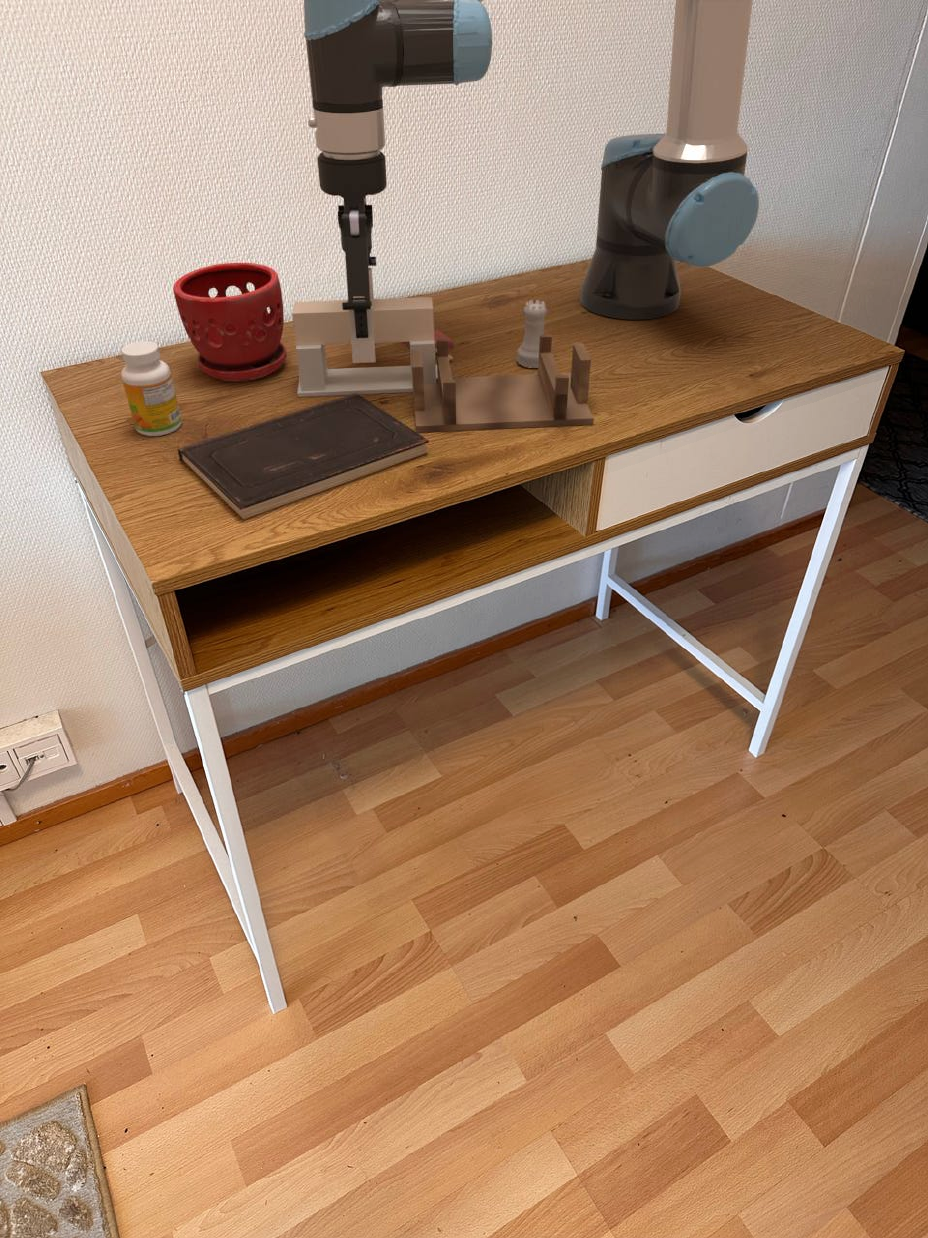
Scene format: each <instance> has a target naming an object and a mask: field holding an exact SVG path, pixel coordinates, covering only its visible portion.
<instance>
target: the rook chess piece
mask: <svg viewBox="0 0 928 1238" xmlns="http://www.w3.org/2000/svg"><path fill="white" fill-rule="evenodd" d="M522 312H523V314H524V315H525V320H524V322H523V323H524V325H525V326H524V327H525V329H524V335H523V340H522V343H521V344H520V347H519V348H518V349H517V352H516V353H517V357H516V361H517V363H518V365H520V364H521V365H523V366H526V367H531V368H538V362H539V342H540V335H545V325H546V324H547V323H546V321H545V316H546V315H547V314H548V312H549V311H548V309H547V307H546V302H545V301H541V300H539V299H536V300H535V303H534V300H533V299H532V300H528V301H526V302H525V306H524V308H523V309H522ZM521 365H520V366H521Z"/></svg>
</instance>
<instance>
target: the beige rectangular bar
mask: <svg viewBox="0 0 928 1238" xmlns="http://www.w3.org/2000/svg"><path fill="white" fill-rule="evenodd" d="M370 300H371V301H372V312H373V328H374V343H375V344H378V343H379V344H380V343H381V344H382V343H384V344H385V343H401V342H402V343H403V342H409V341H434V328H435V322H434V321H435V319H434V317H435V315H434V313H435V312H434V303H433V298H432V296H421V297H420V296H419V297H417V296H416V297H394V298H392V297H391V298H374V299H370ZM342 302H348V299H339V300H311V301H309V300H307V301H294V302H293V308H292V313H291V314H292V316H291V317H292V321H293V322H292V323H293V331H294V337H295V346H307V345H324V346H327V345H328V346H331V345H351V334H350V322H349V310H343V307H342Z"/></svg>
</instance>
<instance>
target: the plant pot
mask: <svg viewBox="0 0 928 1238" xmlns="http://www.w3.org/2000/svg"><path fill="white" fill-rule="evenodd" d="M249 283H250V284H252V285H253V287H254V290H252V291H250V290H249V289H248V286H247V285H248V284H249ZM230 287H235V288H237V289H238V290H239V291H240V293H241V294H240V293H239V294H237V295H231V296H230V295H229V296H227V290H228V289H229V288H230ZM211 289H215V290H216V292H217V294H216V295H215V296H214V297H211V296H210V290H211ZM172 290H173V295H174V300H175V304H176V307H177V309H178V310H177V311H178V314H179V318H180V320H181V323H182V325H183V327H184V330H185V332H186V334H187V336H188V338H189V340H190V342H191V344H192V346H193V347H194V349H195V350H196V351H197V353H199V354H198V357H197V364H198V366H199V368H200V369H201V370H202V372H204V373H205V374H207V375H208V376H210V377H212V378H214V379H216V380H221V381H226V382H246V381H250V380H260V379H261V378H264V377H265V376H269V375H270V374H272V373H274V372H276V371H277V370H278V369H279V368H280V367H281V366H282V365H283V364H284V362H285V360H286V357H287V348H286V346H285V344H283V343H282V342H281V341H282V337H283V331H284V325H285V323H284V321H285V319H284V318H285V316H284V301H283V294H282V293H283V292H282V287H281V281H280V278H279V274H278V273H277V272H276V270H274V269H273V268H271V266H266V265H264V264H258V263H254V262H225V263H219V264H213V265H208V266H204V267H200V268H197V269H195V270H193V271H190V272H188V273H186V274H184V275H182V276H181V277H179V278H178V279H177V280H176V281H175V282H174V284H173V288H172ZM268 308H269V311H268Z"/></svg>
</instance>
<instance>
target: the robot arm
mask: <svg viewBox="0 0 928 1238" xmlns="http://www.w3.org/2000/svg"><path fill="white" fill-rule="evenodd" d="M482 2H484V0H303V12H304V13H303V16H304V33H303V36H304V39H305V44H306V51H307V52H306V53H307V54H306V55H307V63H308V70H309V71H308V72H309V73H308V74H309V80H310V82H309V83H310V92H311V100H312V103H311V104H312V109H313V111H312V113H313V115H314V117H309V118H308V121H307V123H308V124H307V125H308V126H309V128H310V129H311V128H313V129H316V128H317V129H316V130H315V132H314V133H315V143H316V148H317V149H318V150H319V151H321V152H320V153H319V154H318V156H317V158H316V161H317V170H318V171H317V172H318V181H319V182H318V183H319V187H320V189H321V191H322V192H323V193H324V194H327V195H330V196H333V197H336V196H338V197H341V198H343V205H341V204H340V205H337V208H338V210H337V222H338V228H339V229H340V244H341V248H342V251H343V252H344V254H345V255H344V257H345V269H346V270H345V271H346V272H345V273H346V286H347V300H348V302H342V307H343V310H349V322H350V334H351V344H350V345H351V355H352V357H351V358H352V364H359V363H360V364H361V363H362V364H363V363H376V361H377V359H376V345H375V344H376V343H374V328H373V312H372V301H371V300H370V299H375V298H374V283H373V282H374V281H373V268H372V267H377V257H376V256H371V254H372V249H373V243H372V242H373V240H372V239H373V238H372V234H373V231H372V229H373V227H374V216H373V215H374V213H373V205H372V204H367V197H368V196H374V195H377V194H380V193H382V192H383V191H384V190H385V189H386V188H387V184H388V183H387V182H388V181H387V165H386V163H387V162H386V156H385V154H384V153H383V151H381V150H383V149H384V147H385V146H386V135H385V133H386V132H385V114H384V113H385V112H384V110H385V109H384V104H383V88H386V87H387V88H396V87H398V86H399V87H401V86H402V87H403V86H404V87H406V86H424V85H425V86H426V85H430V86H431V85H451V84H452V85H454V86H459V85H460V84H463V83H471V82H478V81H480V80H482V79H483V78H484V77H485V76H486V74H487V72H488V71H489V68H490V64H491V60H492V54H493V29H492V21H491V19H490V16H489V13H488V10H487V8H486V6H485V5H484V4H483V3H482ZM674 5H675V6H674V7H675V8H674V19H673V20H674V21H673V34H672V36H673V37H672V49H671V61H670V63H671V64H670V76H669V77H670V78H669V89H668V90H669V92H668V105H667V106H668V107H667V121H666V131H665V133H645V134H644V133H643V134H630V135H622V136H616V137H613V138H611V139H610V140H609V141H608V142H607V143H606V145H605V148H604V152H603V156H602V157H603V158H602V162H601V166H600V171H601V179H600V189H599V190H600V191H599V200H598V201H599V205H598V216H597V229H596V241H595V242H596V243H595V249H594V251H593V255H592V257H591V260H590V261H589V264H588V267H587V269H586V272H585V275H584V277H583V279H582V282H581V285H580V294H579V302H580V304H581V306H582V307H583V308H585V309H586V310H588V311H589V312H592V313H594V314H596V315H600V316H603V317H607V318H613V319H619V320H633V321H634V320H635V321H637V320H651V319H656V318H657V319H658V318H662V317H666V316H668V315H670V314H673V313H675V312H676V311H677V310H678V308H679V306H680V302H681V301H680V299H681V293H682V291H681V289H682V288H681V284H680V277H679V272H678V266H677V262H679V263H685V264H688V265H690V266H693V267H696V268H697V267H698V268H705V267H711V266H715V265H717V264H720V263H721V262H723V261H725V260H727V259H728V258H730V257H731V256H732V255H733V254H735V253H736V251H737V249H738V248H739V246H741V245H743V244H744V243H745V242H746V241H747V239H748V237H749V236H750V235H751V232H752V230H753V228H754V226H755V224H756V221H757V219H758V218H757V217H758V215H759V214H758V213H759V207H760V201H759V200H760V198H759V193H758V190H757V189H756V187H755V186H754V183H753V182H752V181H751V178H749V177H747V176H745V175H746V174H745V173H746V167H747V166H746V165H747V157H748V149H749V147H748V144H747V142H746V141H745V140H744V139H743V138H742V137H741V135H740V134H739V132H738V126H739V121H740V120H739V119H740V112H741V111H740V110H741V102H742V94H743V86H744V77H745V69H746V68H745V67H746V61H747V59H746V58H747V51H748V43H749V34H750V24H751V17H752V9H753V0H675V4H674ZM369 266H370V267H369Z"/></svg>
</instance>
